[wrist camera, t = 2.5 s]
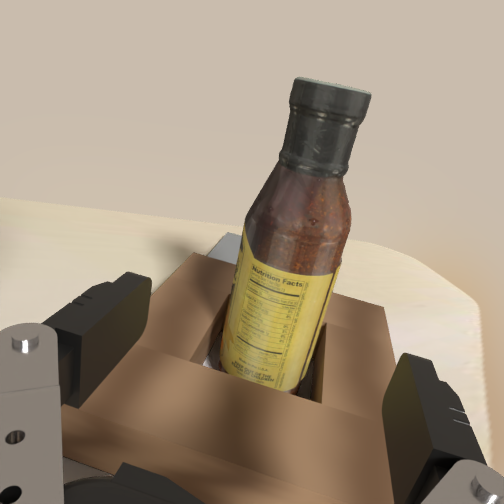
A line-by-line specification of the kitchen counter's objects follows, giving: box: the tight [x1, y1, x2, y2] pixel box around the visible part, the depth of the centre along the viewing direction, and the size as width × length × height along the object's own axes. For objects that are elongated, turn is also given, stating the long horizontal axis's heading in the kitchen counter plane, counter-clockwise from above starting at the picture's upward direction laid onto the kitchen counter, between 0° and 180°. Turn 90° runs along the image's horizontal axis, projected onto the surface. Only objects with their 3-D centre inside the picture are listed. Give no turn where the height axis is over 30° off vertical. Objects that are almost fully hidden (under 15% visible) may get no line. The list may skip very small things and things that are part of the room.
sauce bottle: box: [219, 77, 371, 395], centre depth 24 cm, size 6×6×20 cm
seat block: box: [61, 253, 396, 504], centre depth 27 cm, size 18×20×4 cm
